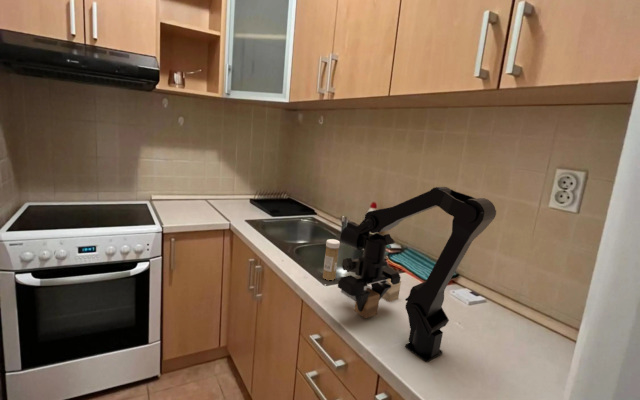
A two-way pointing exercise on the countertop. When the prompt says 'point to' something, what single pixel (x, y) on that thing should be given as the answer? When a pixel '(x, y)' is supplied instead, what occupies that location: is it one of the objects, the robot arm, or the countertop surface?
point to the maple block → (392, 291)
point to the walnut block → (369, 304)
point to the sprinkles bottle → (331, 259)
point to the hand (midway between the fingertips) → (366, 308)
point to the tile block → (352, 296)
